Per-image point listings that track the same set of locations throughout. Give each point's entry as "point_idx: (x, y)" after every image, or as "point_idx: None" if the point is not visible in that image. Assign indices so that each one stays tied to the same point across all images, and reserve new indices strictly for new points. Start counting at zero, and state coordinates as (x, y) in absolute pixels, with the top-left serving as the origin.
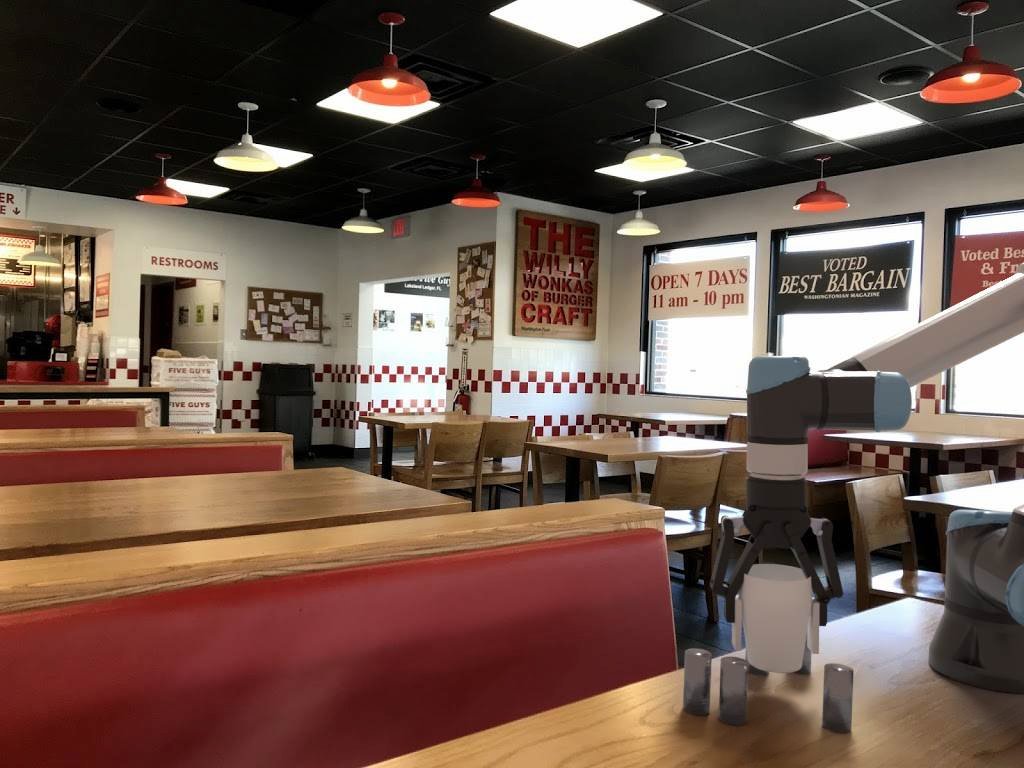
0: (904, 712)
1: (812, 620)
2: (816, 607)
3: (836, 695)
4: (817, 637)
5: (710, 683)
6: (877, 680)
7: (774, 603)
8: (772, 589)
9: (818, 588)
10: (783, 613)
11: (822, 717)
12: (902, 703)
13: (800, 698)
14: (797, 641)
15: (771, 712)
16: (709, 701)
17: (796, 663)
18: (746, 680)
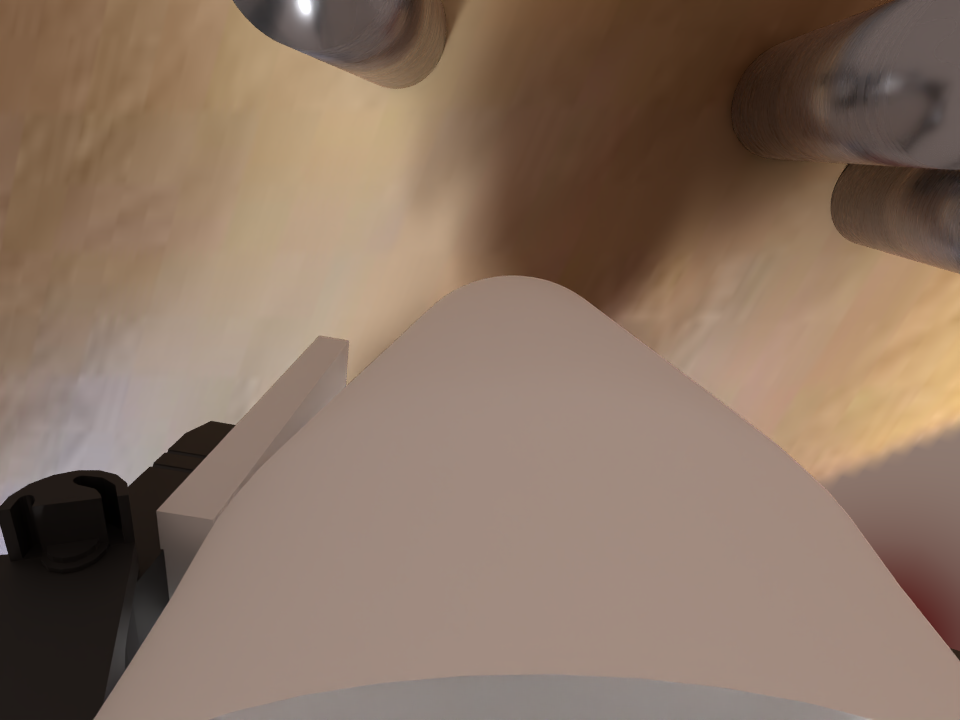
0: (95, 176)
1: (282, 443)
2: (205, 488)
3: None
4: (295, 374)
5: (931, 176)
6: (124, 426)
7: (712, 415)
8: (822, 565)
9: (51, 651)
10: (586, 350)
11: (440, 37)
12: (85, 252)
13: (431, 295)
14: (443, 312)
15: (592, 173)
16: (879, 166)
17: (451, 295)
18: (873, 16)
